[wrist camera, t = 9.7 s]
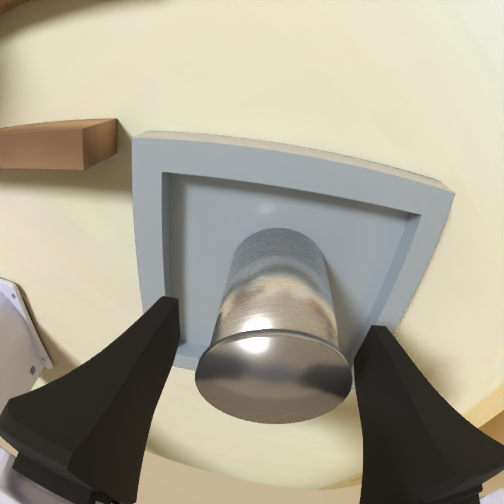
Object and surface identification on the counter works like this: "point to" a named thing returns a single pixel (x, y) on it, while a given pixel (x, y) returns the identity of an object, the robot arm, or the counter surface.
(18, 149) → the notch block
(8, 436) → the robot arm
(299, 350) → the salt shaker
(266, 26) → the counter surface
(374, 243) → the dish
